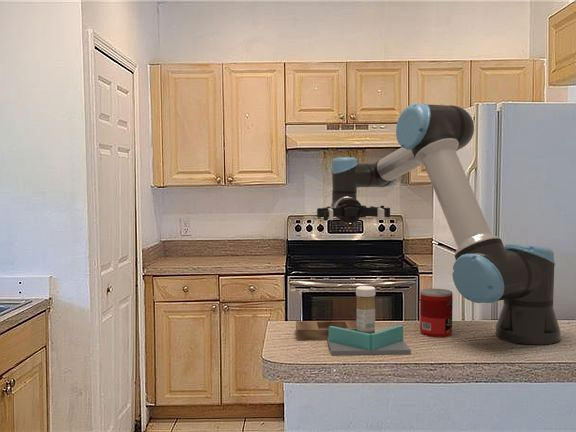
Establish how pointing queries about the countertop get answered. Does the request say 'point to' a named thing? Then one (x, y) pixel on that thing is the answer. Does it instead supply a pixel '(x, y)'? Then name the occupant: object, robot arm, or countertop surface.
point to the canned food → (436, 312)
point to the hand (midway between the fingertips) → (357, 214)
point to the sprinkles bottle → (366, 309)
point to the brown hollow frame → (320, 328)
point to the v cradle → (367, 342)
